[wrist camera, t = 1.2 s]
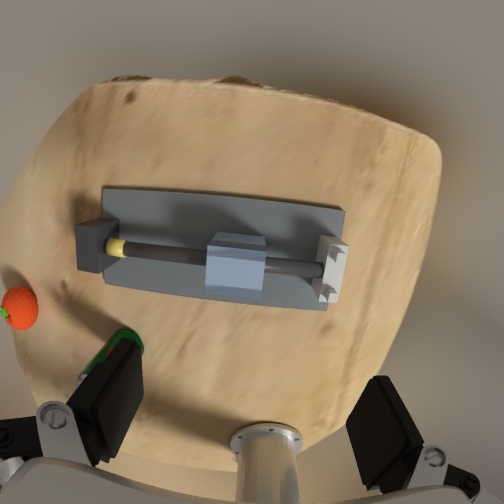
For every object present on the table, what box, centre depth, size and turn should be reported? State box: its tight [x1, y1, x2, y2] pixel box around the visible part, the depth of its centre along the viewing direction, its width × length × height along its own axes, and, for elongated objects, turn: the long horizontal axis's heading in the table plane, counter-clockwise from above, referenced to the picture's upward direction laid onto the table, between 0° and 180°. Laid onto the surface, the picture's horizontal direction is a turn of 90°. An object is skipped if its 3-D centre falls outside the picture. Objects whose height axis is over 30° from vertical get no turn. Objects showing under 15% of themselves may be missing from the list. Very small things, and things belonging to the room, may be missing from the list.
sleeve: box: [205, 232, 267, 299], centre depth 27 cm, size 5×4×6 cm
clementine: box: [0, 287, 38, 330], centre depth 31 cm, size 8×7×7 cm
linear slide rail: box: [75, 189, 349, 311], centre depth 28 cm, size 28×12×6 cm, turn 84°
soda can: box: [76, 329, 144, 389], centre depth 29 cm, size 5×5×12 cm
